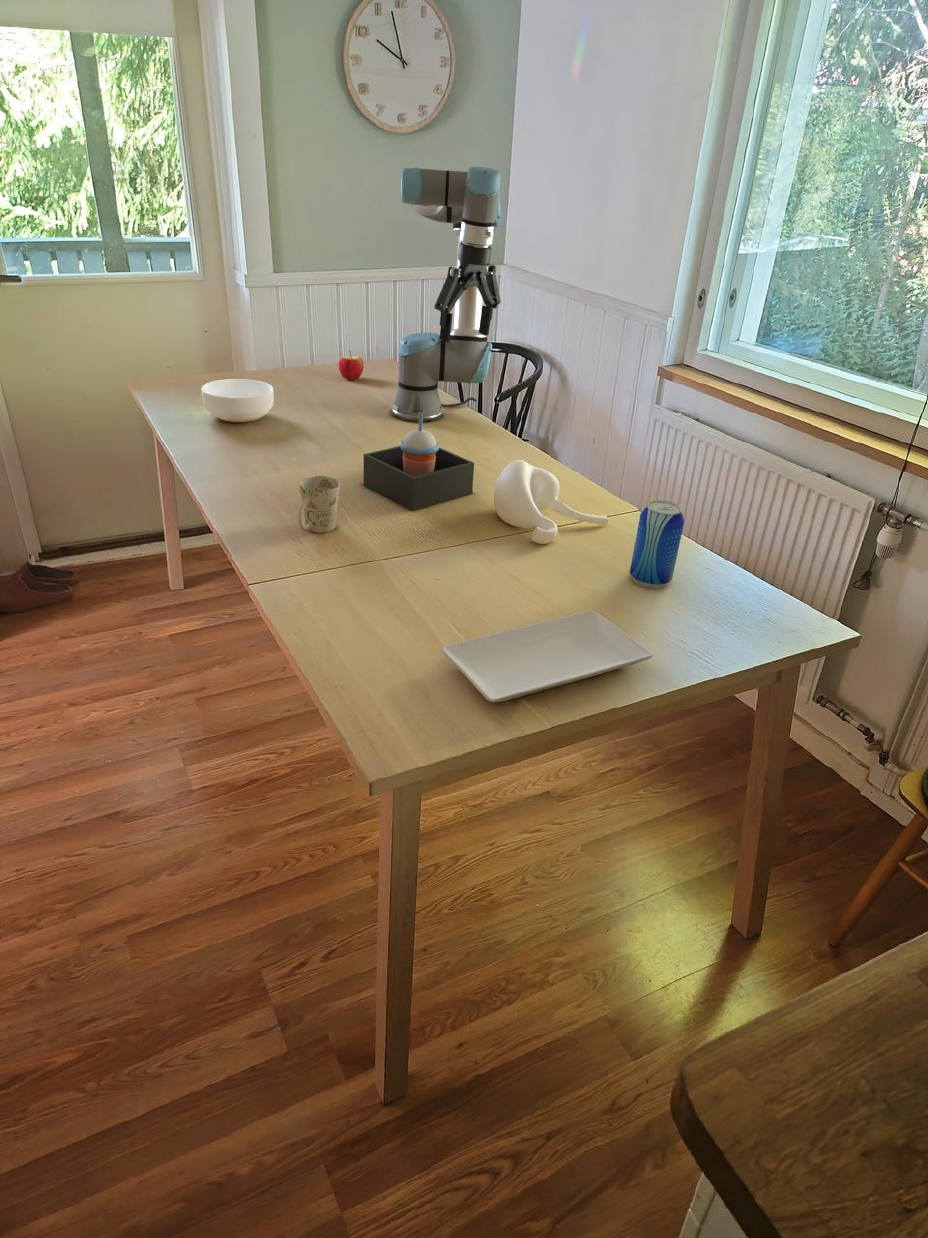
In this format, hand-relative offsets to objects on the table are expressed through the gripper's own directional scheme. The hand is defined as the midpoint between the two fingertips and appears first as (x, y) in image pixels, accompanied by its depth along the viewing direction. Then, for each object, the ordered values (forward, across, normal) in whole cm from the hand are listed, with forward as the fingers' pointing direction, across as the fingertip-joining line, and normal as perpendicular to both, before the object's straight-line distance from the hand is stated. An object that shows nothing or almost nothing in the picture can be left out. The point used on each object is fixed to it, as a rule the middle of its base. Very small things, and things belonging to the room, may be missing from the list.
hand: (464, 337), depth 204 cm
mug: (+30, -55, -15) cm, 65 cm away
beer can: (+25, -17, -74) cm, 80 cm away
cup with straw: (+30, -22, -11) cm, 39 cm away
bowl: (+37, -26, +59) cm, 74 cm away
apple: (+38, +27, +74) cm, 88 cm away
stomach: (+28, -12, -41) cm, 52 cm away
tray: (+25, -57, -80) cm, 102 cm away
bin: (+31, -22, -11) cm, 39 cm away
